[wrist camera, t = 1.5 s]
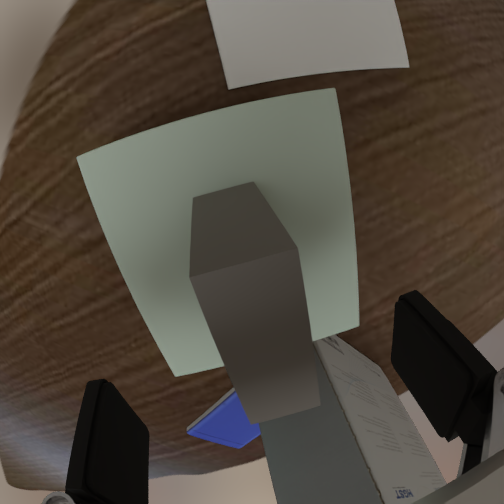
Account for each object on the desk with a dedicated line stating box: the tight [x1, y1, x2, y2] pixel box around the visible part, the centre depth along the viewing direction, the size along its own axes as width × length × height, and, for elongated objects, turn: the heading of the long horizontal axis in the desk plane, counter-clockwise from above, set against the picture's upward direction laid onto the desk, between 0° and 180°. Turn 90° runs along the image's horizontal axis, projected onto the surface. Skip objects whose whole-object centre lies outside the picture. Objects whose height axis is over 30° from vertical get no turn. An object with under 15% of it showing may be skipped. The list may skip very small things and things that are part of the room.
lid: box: [76, 88, 359, 425], centre depth 14 cm, size 12×14×9 cm
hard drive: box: [187, 387, 261, 448], centre depth 34 cm, size 2×8×12 cm
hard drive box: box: [259, 334, 447, 504], centre depth 23 cm, size 16×8×20 cm, turn 47°
